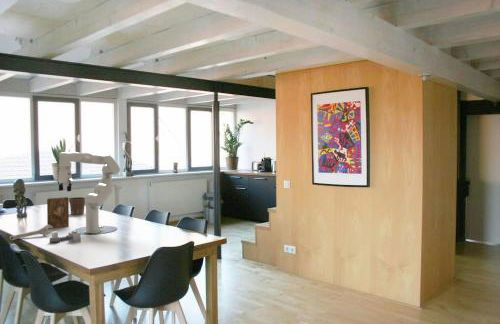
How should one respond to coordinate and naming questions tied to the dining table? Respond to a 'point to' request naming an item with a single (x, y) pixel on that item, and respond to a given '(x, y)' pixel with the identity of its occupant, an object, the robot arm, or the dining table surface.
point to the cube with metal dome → (74, 236)
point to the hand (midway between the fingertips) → (65, 190)
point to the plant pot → (77, 205)
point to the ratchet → (57, 238)
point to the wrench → (33, 233)
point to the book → (58, 212)
